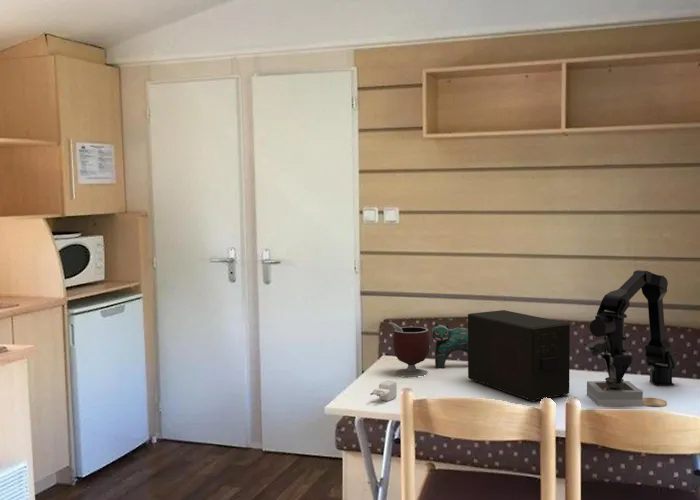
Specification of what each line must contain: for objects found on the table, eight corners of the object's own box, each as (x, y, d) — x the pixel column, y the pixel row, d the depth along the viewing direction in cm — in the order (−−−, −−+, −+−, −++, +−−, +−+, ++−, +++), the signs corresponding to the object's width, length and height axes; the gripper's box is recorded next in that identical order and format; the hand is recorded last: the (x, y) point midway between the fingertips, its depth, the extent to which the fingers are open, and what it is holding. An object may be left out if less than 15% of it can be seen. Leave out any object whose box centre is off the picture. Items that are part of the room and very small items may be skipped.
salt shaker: (626, 392, 250) (627, 355, 249) (609, 392, 250) (609, 356, 249) (619, 387, 256) (619, 352, 255) (602, 388, 256) (602, 352, 255)
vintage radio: (580, 396, 258) (581, 323, 256) (535, 405, 249) (536, 328, 247) (508, 374, 291) (508, 308, 289) (466, 380, 282) (466, 313, 280)
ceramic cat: (433, 369, 300) (432, 319, 298) (430, 365, 306) (429, 316, 305) (483, 367, 302) (483, 317, 300) (479, 364, 308) (478, 314, 306)
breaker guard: (628, 394, 260) (628, 381, 259) (642, 405, 246) (642, 391, 246) (586, 394, 260) (586, 381, 260) (598, 405, 246) (598, 392, 246)
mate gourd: (430, 369, 299) (430, 319, 298) (429, 378, 286) (428, 325, 284) (391, 369, 302) (390, 318, 300) (387, 377, 288) (387, 325, 287)
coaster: (661, 399, 253) (661, 397, 253) (671, 406, 244) (671, 404, 244) (633, 399, 253) (633, 397, 253) (642, 406, 244) (642, 405, 244)
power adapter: (380, 405, 250) (380, 388, 250) (368, 403, 253) (367, 386, 253) (398, 398, 259) (398, 381, 259) (386, 396, 262) (386, 379, 262)
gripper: (582, 327, 261) (582, 372, 262) (597, 338, 242) (597, 387, 244) (615, 327, 261) (615, 372, 262) (633, 338, 242) (633, 386, 243)
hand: (614, 379), depth 253 cm, fingers closed on salt shaker, 8 cm apart
